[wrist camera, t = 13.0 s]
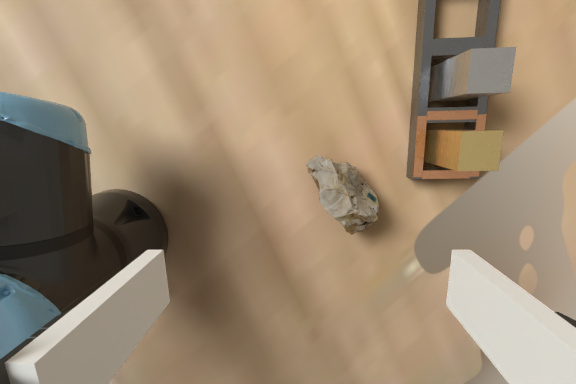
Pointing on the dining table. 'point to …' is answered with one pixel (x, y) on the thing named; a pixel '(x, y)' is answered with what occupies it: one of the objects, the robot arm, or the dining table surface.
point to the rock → (344, 193)
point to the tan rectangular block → (464, 149)
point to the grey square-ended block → (472, 74)
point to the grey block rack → (424, 54)
